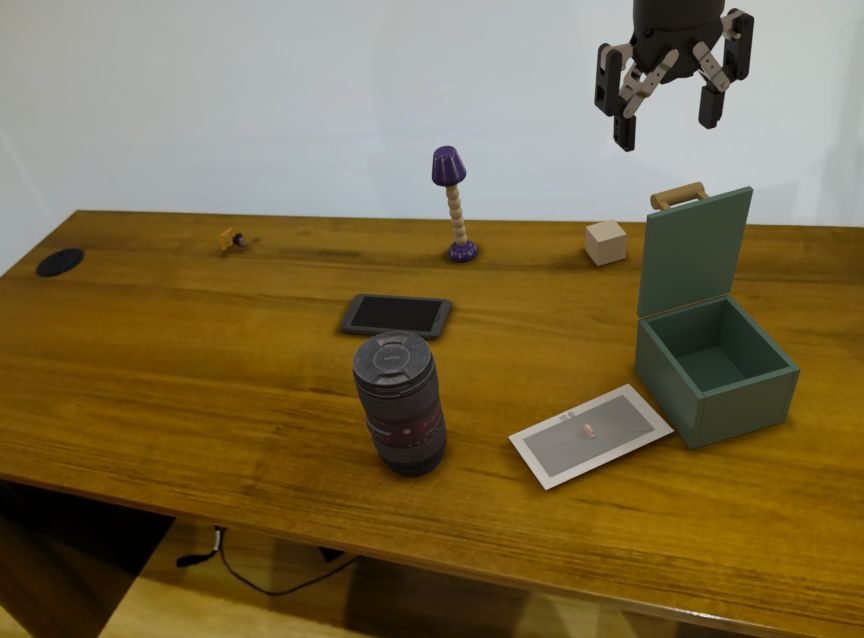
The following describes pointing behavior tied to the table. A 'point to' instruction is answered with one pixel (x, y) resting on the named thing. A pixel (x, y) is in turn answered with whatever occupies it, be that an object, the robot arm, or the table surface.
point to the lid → (691, 246)
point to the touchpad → (589, 435)
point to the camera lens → (401, 401)
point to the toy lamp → (453, 199)
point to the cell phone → (396, 315)
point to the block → (605, 242)
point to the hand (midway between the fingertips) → (666, 136)
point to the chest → (714, 370)
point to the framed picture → (232, 239)
